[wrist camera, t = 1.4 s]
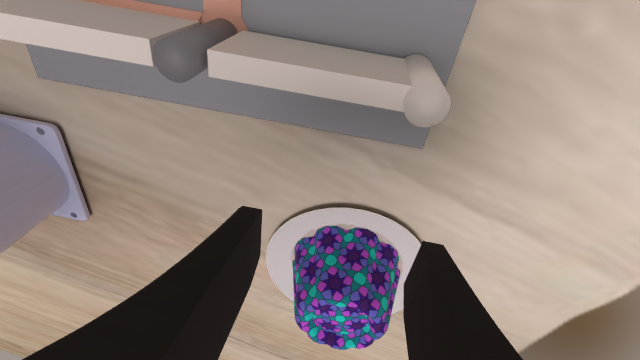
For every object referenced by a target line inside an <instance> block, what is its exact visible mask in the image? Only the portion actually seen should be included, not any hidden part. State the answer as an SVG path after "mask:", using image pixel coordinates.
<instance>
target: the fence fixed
mask: <svg viewBox="0 0 640 360" xmlns="http://www.w3.org/2000/svg"><path fill="white" fill-rule="evenodd" d="M237 33H238V32H237V29H236V28H235V26H234V25H233V24H232V23H231V22H230V21H228V20H226V19H223V18H217V19H214V20H211V21H209V22H206V23H203V24H200V21H195V20H189V19H184V18H178V17H172V16H167V15H161V14H155V13H149V12H144V11H138V10H132V9H127V8H121V7H115V6H110V5H104V4H98V3H92V2H87V1H81V0H0V39H4V40H9V41H15V42H20V43H26V44H31V45H37V46H42V47H48V48H53V49H59V50H64V51H70V52H75V53H81V54H86V55H92V56H97V57H103V58H108V59H114V60H119V61H125V62H130V63H136V64H141V65H147V66H152V67H154V66H156V67H157V69H158V70H159V72H160V73H161V74H162V75H163V76H164V77H166V78H167V79H169V80H171V81H173V82H176V83H184V82H187V81H189V80H190V79H192V78H193V77H195V76H196V75H198V74H200V73H201V72H203V71H204V70H206V69H207V68H208V57H207V49H209V48H211V47H213V46H215V45H217V44H218V43H220V42H222V41H224V40H226V39H228V38H230V37H232V36H234V35H235V34H237Z"/></svg>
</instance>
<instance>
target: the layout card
mask: <svg viewBox="0 0 640 360" xmlns="http://www.w3.org/2000/svg"><path fill="white" fill-rule="evenodd" d="M81 1H87V2H92V3H98V4H104V5H110V6H115V7H121V8H127V9H132V10H138V11H144V12H149V13H155V14H161V15H167V16H172V17H178V18H184V19H189V20H195V21H200V24H203V23H206V22H209V21H211V20H214V19H217V18H223V19H226V20H228V21H230V22H231V23H232V24H233V25H234V26H235V28H236V29H237V32H238V33H239V32H241V31H243V30H244V31H249V32H255V33H261V34H266V35H272V36H278V37H283V38H289V39H295V40H300V41H306V42H312V43H317V44H323V45H329V46H335V47H340V48H346V49H352V50H357V51H363V52H369V53H374V54H380V55H386V56H391V57H397V58H403V59H404V58H406V57H407V56H409V55H413V54H420V55H423V56H425V57H427V58H428V59H429V61H430V62H431V64H432V66H433V68H434V69H435V71H436V73H437V75H438V76H439V78H440V80H441V82H442V83H443V85H444V87H445V85H446V82H447V80H448V77H449V74H450V71H451V68H452V66H453V63H454V60H455V57H456V55H457V52H458V49H459V46H460V44H461V41H462V38H463V35H464V33H465V30H466V27H467V24H468V22H469V19H470V16H471V13H472V11H473V8H474V5H475V2H476V0H81ZM26 45H27V48H28V51H29V54H30V56H31V59H32V62H33V65H34V67H35V70H36V73H37V76H38V78H42V79H48V80H53V81H58V82H64V83H69V84H75V85H80V86H85V87H91V88H96V89H102V90H107V91H112V92H118V93H123V94H129V95H134V96H139V97H145V98H150V99H156V100H161V101H166V102H172V103H177V104H183V105H188V106H193V107H199V108H204V109H210V110H215V111H221V112H226V113H231V114H237V115H242V116H248V117H253V118H258V119H264V120H269V121H275V122H280V123H285V124H291V125H296V126H302V127H307V128H312V129H318V130H323V131H329V132H334V133H339V134H345V135H350V136H356V137H361V138H366V139H372V140H377V141H383V142H388V143H393V144H399V145H404V146H410V147H415V148H420V149H422V148H423V146H424V143H425V140H426V137H427V135H428V132H429V129H430V127H418V126H415V125H413V124H412V123H410V122H409V121H408V119H407V118H406V116H405V113H404V112H400V111H395V110H389V109H384V108H378V107H373V106H367V105H362V104H356V103H351V102H345V101H340V100H334V99H329V98H323V97H318V96H312V95H307V94H301V93H296V92H290V91H285V90H279V89H274V88H268V87H263V86H257V85H252V84H246V83H241V82H235V81H230V80H224V79H218V78H213V77H209V74H208V68H207V69H206V70H204V71H203V72H201V73H200V74H198V75H196V76H195V77H193V78H192V79H190V80H189V81H187V82H184V83H176V82H173V81H171V80H169V79H167V78H166V77H164V76H163V75H162V74H161V73H160V72H159V70H158V69H157V67H156V66H154V67H152V66H147V65H141V64H136V63H130V62H125V61H119V60H114V59H108V58H103V57H97V56H92V55H86V54H81V53H75V52H70V51H64V50H59V49H53V48H48V47H42V46H37V45H31V44H26Z"/></svg>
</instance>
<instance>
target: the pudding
mask: <svg viewBox="0 0 640 360" xmlns="http://www.w3.org/2000/svg"><path fill="white" fill-rule="evenodd" d="M334 224H348V225H355V226H360V227H363V228H367V229H362V228H354V229H351V230H347V231H346V230H344V229H342V228H340V227H338V226H326V225H334ZM323 226H326V227H323ZM319 227H323V228H321V229H318V230H317V232H316V234H315V235H314V237H307V238H302V239H301V240H300V241H299V242H297V241H298V240H299V239H300V238H301V237H302V236H303V235H305V234H306V233H308V232H309V231H312V230H314V229H316V228H319ZM368 229H370V230H372V231H374V232H377V233H378V234H380V235H382V236H383V237H385V238H386V239H387V240H388V241H390V242H391V243H392V244H393V245H394V247H395V248H396V249H397V251H398V252H399V255H400V257H401V260H402V273H401V276H400V271H399V270H398V268H397V265H398V260H399V256H398V253H397V251H396V250H395V249H394V248H393V247H392V246H391V245H389V244H385V243H380V242H379V240H378V237H377V235H376V234H375V233H373V232H371V231H369V230H368ZM296 242H297V244H296ZM295 244H296V247H295V260H294V261H293V268H292V263H291V254H292V250H293V248H294V246H295ZM420 246H421V244H420V242H419V241H418V240H417V238H416V237H415V236H414V235H413V234H411V233H410V232H409V231H408V230H407V229H406V228H404V227H403V226H401V225H400V224H398V223H397V222H395V221H393V220H391V219H389V218H386V217H384V216H382V215H380V214H376V213H373V212H369V211H366V210H361V209H353V208H325V209H318V210H313V211H310V212H307V213H303V214H300V215H298V216H296V217H294V218H292V219H290V220H289V221H287V222H286V223H285V224H283V225H282V226H281V227H280V228H279V229H278V230H277V231H276V232H275V233H274V235H273V236H272V238H271V240H270V242H269V244H268V246H267V251H266V265H267V269H268V272H269V275H270V277H271V278H272V280H273V282H274V283H275V285H276V286H277V287H278V289H279V290H280V291H281V292H282V293H283V294H284V295H286V296H287V297H288V298H289V299H290V300H292V301H293V302H294V310H295V320H296V322H297V324H298V326H299V327H300V328H301V329H302V330H303V331H305V332H307V335H308V337H309V338H310V339H312V340H313V341H314V342H317V343H319V344H328V345H329V346H331V347H332V348H335V349H340V350H346V349H349V348H351V347H353V348H358V349H360V348H366V347H367V346H369V345H371V344H373V342H374V340H377V339H379V338H381V337H382V336H383V335H384V334H385V332H386V331H387V329H388V326H389V321H390V317H391V314H394V313H396V312H398V311H400V310H403V309H404V304H403V299H404V282H405V280H406V278H407V275H408V273H409V271H410V269H411V267H412V264H413V262H414V260H415V258H416V255H417V253H418V251H419V249H420ZM399 277H400V279H399Z"/></svg>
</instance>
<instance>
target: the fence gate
mask: <svg viewBox="0 0 640 360" xmlns="http://www.w3.org/2000/svg"><path fill="white" fill-rule="evenodd" d="M207 57H208V74H209V77H213V78H218V79H224V80H230V81H235V82H241V83H246V84H252V85H257V86H263V87H268V88H274V89H279V90H285V91H290V92H296V93H301V94H307V95H312V96H318V97H323V98H329V99H334V100H340V101H345V102H351V103H356V104H362V105H367V106H373V107H378V108H384V109H389V110H395V111H400V112H404V113H405V116H406V118H407V119H408V121H409V122H410V123H412V124H413V125H415V126H418V127H431V126H434V125H437V124H438V123H440V122H441V121H443V120H444V119H445V117H446V116H447V115H448V113H449V111H450V108H451V99H450V96H449V94H448V92H447V90H446V89H445V87H444V85H443V83H442V82H441V80H440V78H439V76H438V75H437V73H436V71H435V69H434V68H433V66H432V64H431V62H430V61H429V59H428V58H427V57H425V56H423V55H420V54H413V55H409V56H407V57H406V58H404V59H403V58H397V57H391V56H386V55H380V54H374V53H369V52H363V51H357V50H352V49H346V48H340V47H335V46H329V45H323V44H317V43H312V42H306V41H300V40H295V39H289V38H283V37H278V36H272V35H266V34H261V33H255V32H249V31H244V30H243V31H241V32H239V33H237V34H235V35H234V36H232V37H230V38H228V39H226V40H224V41H222V42H220V43H218V44H217V45H215V46H213V47H211V48H209V49H207Z"/></svg>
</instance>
